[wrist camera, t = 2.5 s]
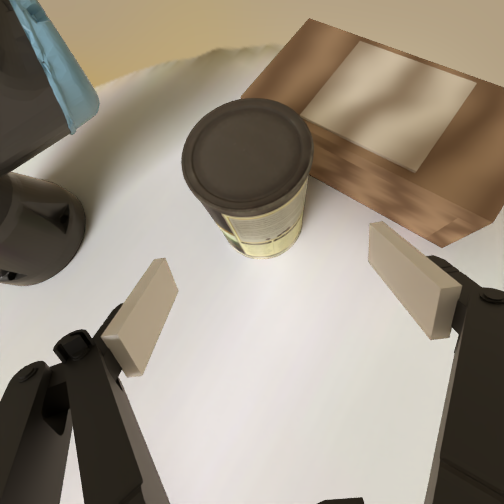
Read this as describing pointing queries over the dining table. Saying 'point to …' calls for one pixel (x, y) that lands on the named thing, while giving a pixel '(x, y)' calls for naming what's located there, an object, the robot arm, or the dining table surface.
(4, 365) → the dining table surface
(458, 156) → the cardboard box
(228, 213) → the coffee can
